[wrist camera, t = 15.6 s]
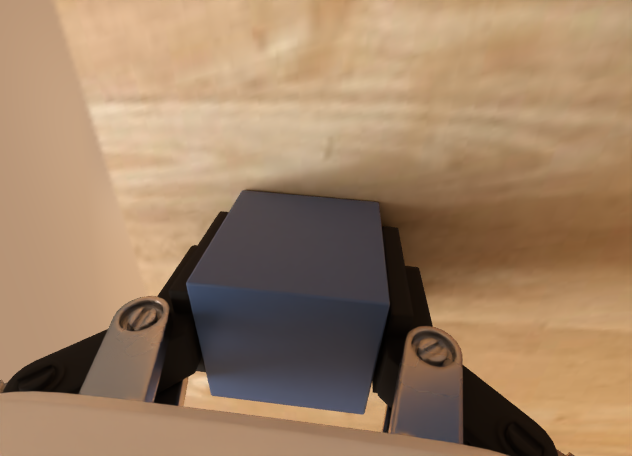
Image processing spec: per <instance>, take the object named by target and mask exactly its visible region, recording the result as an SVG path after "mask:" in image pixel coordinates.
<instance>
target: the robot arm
mask: <svg viewBox="0 0 632 456" xmlns="http://www.w3.org/2000/svg"><path fill="white" fill-rule="evenodd" d="M228 213H229V212H220V213H219V214H218V215H217V217H216V218H215V220H214V221H213V223H212V224H211V226H210V228H209V229H208V231H207V232H206V234H205V235H204V237H203V238H202V240H201V241H200V243H199V244H198V246H197V245H194V246H192V247H191V248H190V249H189V251H188V252H187V254H186V255H185V256H184V258H183V259H182V261H181V262H180V264H179V265H178V267H177V268H176V270H175V271H174V273H173V274H172V276H171V277H170V279H169V280H168V282H167V283H166V284H165V286H164V287H163V289H162V290H161V292H160V293H159V295H158V296H157V297H156V296H146V297H140V298H137V299H135V300H132V301H130V302H128V303H127V304H125V305H124V306H122V307H121V308H120V309H119V310H118V311H117V312H116V314H115V316H114V317H113V319H112V321H111V324H110V326H109V328H108V329H107V330H105V331H102V332H100V333H98V334H96V335H93V336H91V337H89V338H86V339H84V340H82V341H80V342H77V343H75V344H73V345H71V346H69V347H66V348H64V349H61V350H59V351H57V352H55V353H52V354H50V355H48V356H45V357H43V358H41V359H39V360H36V361H34V362H33V363H31V364H29V365H27V366H25V367H24V368H22V369H21V370H20V371H18V372H17V373H16V374H15V375H14V376H13V377H12V378H11V379H10V380H9V382H8V383H4V382H3V381H2V380H0V456H574V455H573V454H571V453H570V452H569V453H568V454H567V455H564V454H563V453H561V452H560V451H558V450H557V449H556V448H555V445H554V443H553V441H552V440H551V438H550V437H549V436H548V434H547V433H546V431H545V430H544V429H543V428H541V427H540V426H539V425H538V424H537V423H536V422H535V421H534V420H532V419H531V418H530V417H529V416H527V415H526V414H525V413H523V412H522V411H521V410H520V409H518V408H517V407H516V406H515V405H513V404H512V403H511V402H509V401H508V400H507V399H506V398H504V397H503V396H502V395H501V394H499V393H498V392H497V391H495V390H494V389H493V388H492V387H490V386H489V385H488V384H487V383H485V382H484V381H483V380H481V379H480V378H479V377H478V376H476V375H475V374H474V373H473V372H471V371H470V370H469V369H467V368H466V367H465V366H464V365H462V352H461V348H460V347H459V345H458V343H457V342H456V340H455V339H454V338H453V337H452V336H451V335H449V334H448V333H446V332H445V331H443V330H441V329H438V328H436V327H433V326H432V321H431V317H430V313H429V308H428V304H427V300H426V295H425V291H424V287H423V282H422V278H421V274H420V270H419V268H418V267H410V266H405V264H404V259H403V253H402V247H401V242H400V236H399V230H398V228H395V227H385V226H382V235H383V244H384V253H385V263H386V272H387V281H388V291H389V300H390V307H389V311H388V315H387V319H386V324H385V328H384V332H383V336H382V341H381V345H380V349H379V354H378V358H377V362H376V366H375V371H374V375H373V379H372V384H373V392H374V393H378V396H379V397H380V398H381V399H382V400H383V401H384V402H385V403H386V404H387V405H386V410H385V416H384V421H383V426H382V432H375V431H368V430H360V429H353V428H345V427H338V426H330V425H323V424H315V423H308V422H300V421H292V420H284V419H277V418H269V417H261V416H253V415H245V414H238V413H230V412H222V411H214V410H206V409H198V408H190V407H183V406H184V400H185V395H186V389H187V384H188V377H189V376H190V375H192V374H194V373H195V372H196V371H201V372H206V369H205V365H204V360H203V356H202V352H201V347H200V343H199V339H198V334H197V330H196V325H195V321H194V317H193V312H192V308H191V303H190V299H189V295H188V290H187V286H186V282H187V280H188V279H189V277H190V275H191V274H192V272H193V270H194V269H195V267H196V266H197V264H198V262H199V261H200V259H201V257H202V256H203V254H204V252H205V251H206V249H207V248H208V246H209V244H210V243H211V241H212V239H213V238H214V236H215V234H216V233H217V231H218V230H219V228H220V226H221V225H222V223H223V221H224V220H225V218H226V216H227V215H228Z"/></svg>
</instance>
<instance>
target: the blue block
mask: <svg viewBox="0 0 632 456" xmlns="http://www.w3.org/2000/svg"><path fill="white" fill-rule="evenodd" d="M186 286H187V290H188V295H189V299H190V303H191V308H192V312H193V317H194V321H195V325H196V330H197V334H198V339H199V343H200V347H201V352H202V356H203V360H204V365H205V369H206V374H207V378H208V382H209V387H210V391H211V395H213V396H219V397H227V398H235V399H243V400H251V401H259V402H267V403H275V404H283V405H291V406H299V407H307V408H315V409H323V410H331V411H339V412H347V413H355V414H364V413H365V409H366V405H367V401H368V396H369V392H370V388H371V383H372V379H373V375H374V371H375V366H376V362H377V358H378V354H379V349H380V345H381V341H382V336H383V332H384V328H385V324H386V319H387V315H388V311H389V307H390V300H389V291H388V281H387V272H386V263H385V253H384V244H383V235H382V225H381V216H380V207H379V203H378V202H371V201H360V200H348V199H337V198H325V197H314V196H303V195H291V194H280V193H269V192H257V191H246V190H243V191H242V192H241V193H240V195H239V197H238V198H237V200H236V202H235V203H234V205H233V207H232V208H231V210H230V212H229V213H228V215H227V216H226V218H225V220H224V221H223V223H222V225H221V226H220V228H219V230H218V231H217V233H216V234H215V236H214V238H213V239H212V241H211V243H210V244H209V246H208V248H207V249H206V251H205V252H204V254H203V256H202V257H201V259H200V261H199V262H198V264H197V266H196V267H195V269H194V270H193V272H192V274H191V275H190V277H189V279H188V280H187V282H186Z"/></svg>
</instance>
